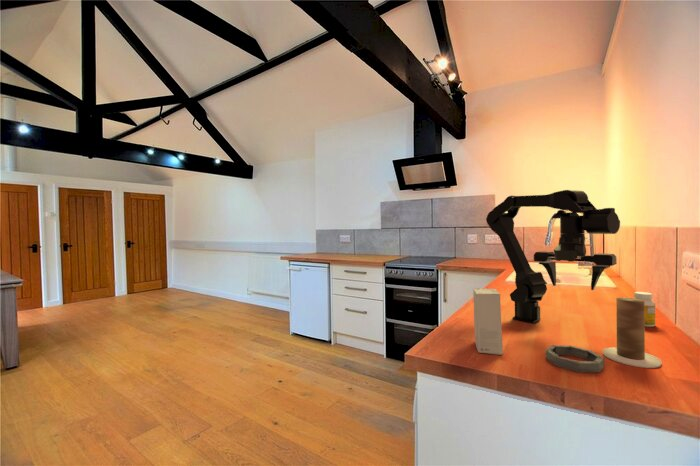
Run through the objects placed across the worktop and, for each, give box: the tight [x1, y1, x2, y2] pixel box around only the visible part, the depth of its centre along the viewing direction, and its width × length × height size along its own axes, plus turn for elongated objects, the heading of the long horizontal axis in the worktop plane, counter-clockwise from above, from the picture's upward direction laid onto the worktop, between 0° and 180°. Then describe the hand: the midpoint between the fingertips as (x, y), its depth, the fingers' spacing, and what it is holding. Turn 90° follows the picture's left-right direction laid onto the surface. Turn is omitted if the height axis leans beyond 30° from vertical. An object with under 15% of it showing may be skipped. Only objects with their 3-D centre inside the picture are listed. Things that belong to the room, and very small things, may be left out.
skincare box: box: [472, 288, 504, 356], centre depth 79 cm, size 8×6×15 cm
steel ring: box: [545, 344, 605, 374], centre depth 70 cm, size 10×10×2 cm
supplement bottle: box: [633, 291, 656, 328], centre depth 96 cm, size 5×5×10 cm
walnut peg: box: [616, 296, 646, 360], centre depth 72 cm, size 5×5×13 cm
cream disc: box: [602, 346, 662, 369], centre depth 72 cm, size 10×10×1 cm
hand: (572, 287), depth 89 cm, fingers open, 9 cm apart
